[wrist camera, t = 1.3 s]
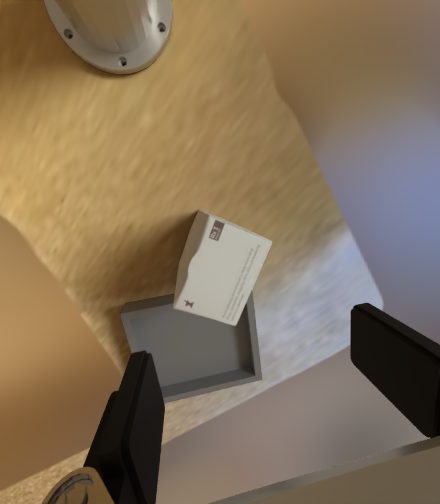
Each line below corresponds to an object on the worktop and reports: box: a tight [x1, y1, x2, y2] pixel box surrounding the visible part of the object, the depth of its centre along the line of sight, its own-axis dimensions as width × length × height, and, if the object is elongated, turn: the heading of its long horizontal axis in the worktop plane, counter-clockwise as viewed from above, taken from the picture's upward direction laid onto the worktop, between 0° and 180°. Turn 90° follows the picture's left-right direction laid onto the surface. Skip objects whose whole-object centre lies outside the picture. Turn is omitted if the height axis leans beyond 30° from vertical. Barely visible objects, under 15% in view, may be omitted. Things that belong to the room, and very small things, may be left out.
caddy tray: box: [120, 291, 262, 403], centre depth 34 cm, size 16×18×3 cm
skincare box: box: [173, 210, 272, 326], centre depth 25 cm, size 8×6×15 cm
